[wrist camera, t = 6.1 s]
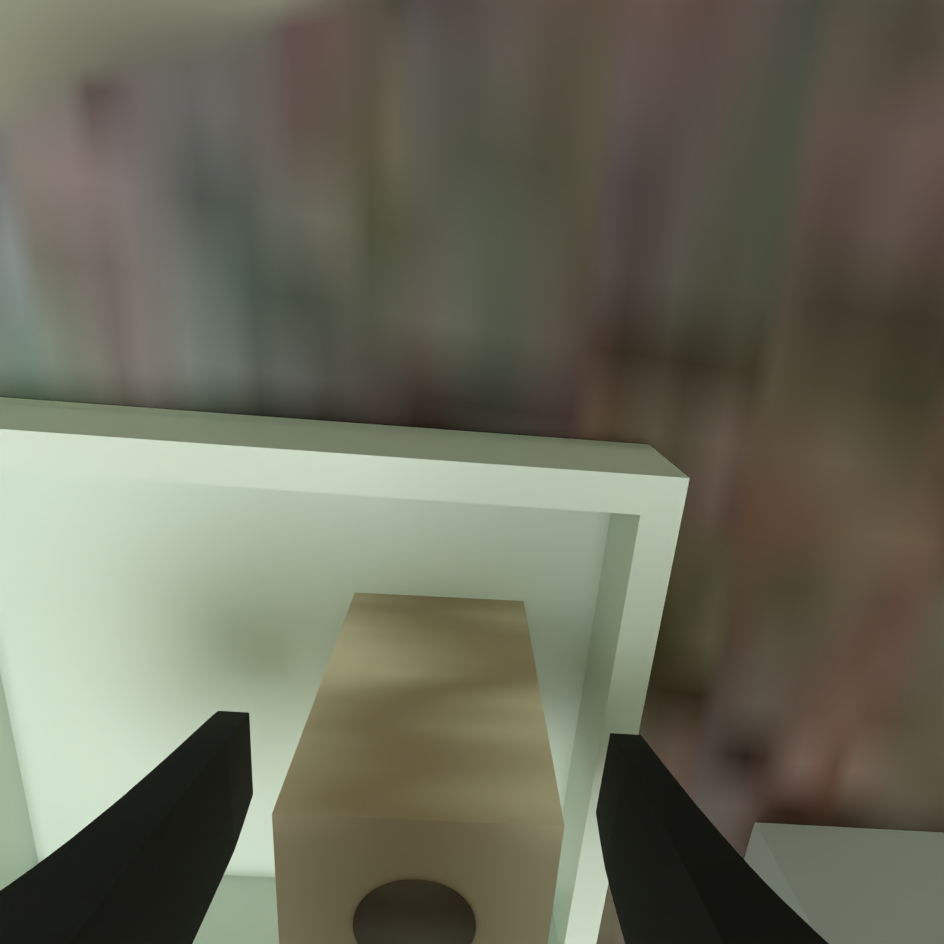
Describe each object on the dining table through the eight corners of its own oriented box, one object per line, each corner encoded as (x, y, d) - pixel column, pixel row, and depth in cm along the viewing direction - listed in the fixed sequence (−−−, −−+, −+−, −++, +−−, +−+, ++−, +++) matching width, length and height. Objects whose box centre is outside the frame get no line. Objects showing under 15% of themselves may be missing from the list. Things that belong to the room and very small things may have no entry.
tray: (649, 444, 13) (689, 478, 11) (570, 891, 17) (587, 987, 15) (-68, 392, 13) (-194, 415, 10) (30, 865, 17) (-43, 960, 14)
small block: (523, 600, 14) (564, 829, 8) (509, 737, 15) (537, 1022, 9) (354, 592, 13) (270, 816, 8) (354, 731, 15) (282, 1014, 9)
